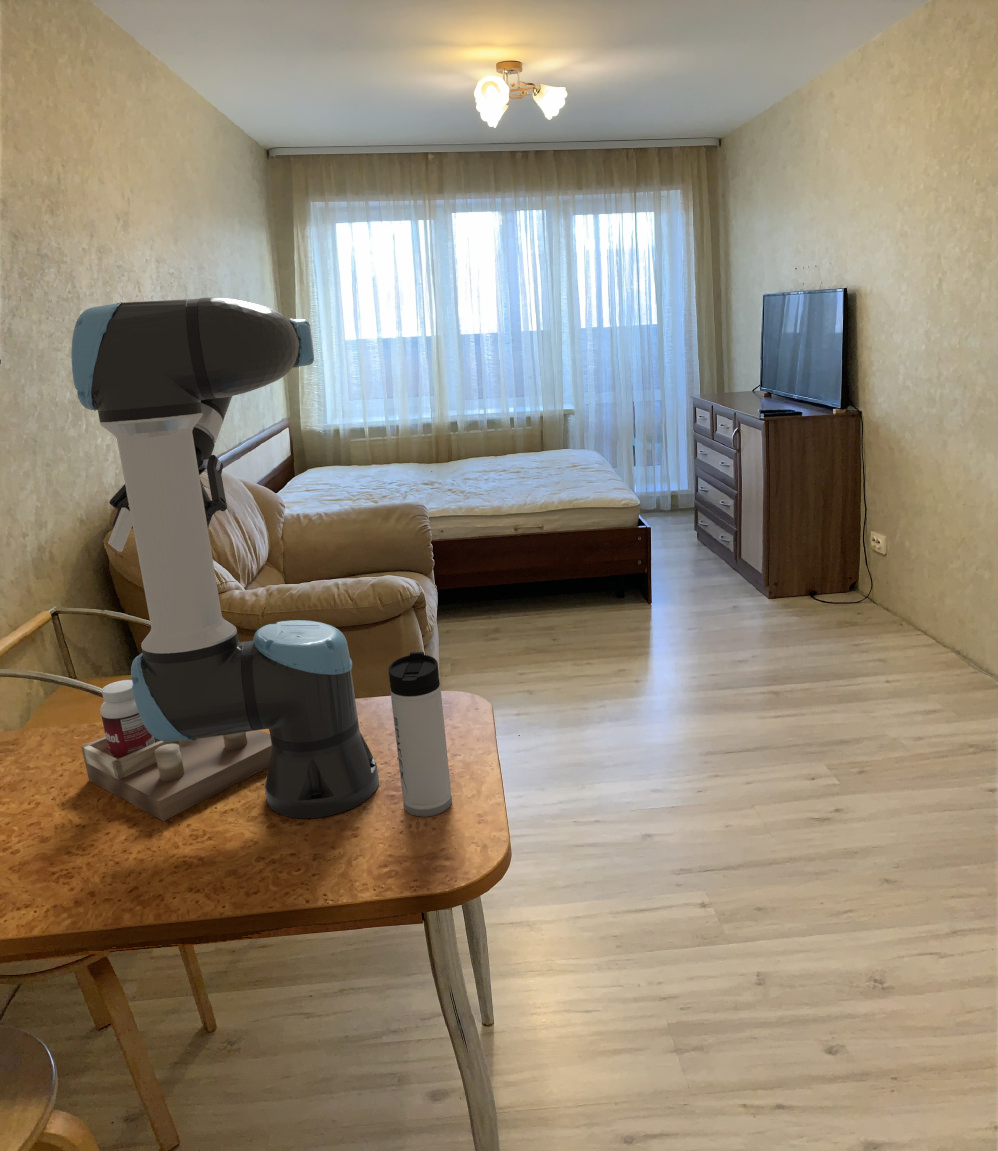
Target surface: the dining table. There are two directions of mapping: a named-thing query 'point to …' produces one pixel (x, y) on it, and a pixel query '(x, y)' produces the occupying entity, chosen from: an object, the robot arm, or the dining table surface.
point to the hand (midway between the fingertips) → (151, 547)
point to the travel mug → (420, 734)
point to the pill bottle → (123, 720)
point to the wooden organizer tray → (177, 770)
